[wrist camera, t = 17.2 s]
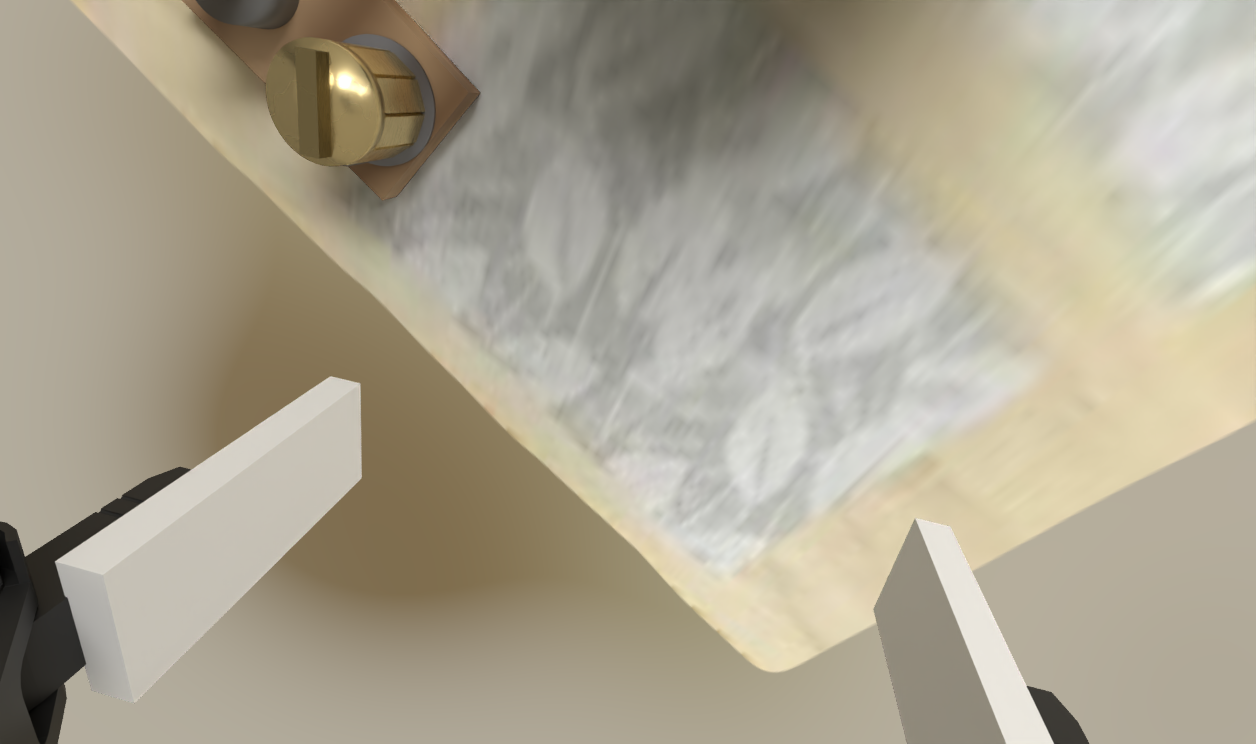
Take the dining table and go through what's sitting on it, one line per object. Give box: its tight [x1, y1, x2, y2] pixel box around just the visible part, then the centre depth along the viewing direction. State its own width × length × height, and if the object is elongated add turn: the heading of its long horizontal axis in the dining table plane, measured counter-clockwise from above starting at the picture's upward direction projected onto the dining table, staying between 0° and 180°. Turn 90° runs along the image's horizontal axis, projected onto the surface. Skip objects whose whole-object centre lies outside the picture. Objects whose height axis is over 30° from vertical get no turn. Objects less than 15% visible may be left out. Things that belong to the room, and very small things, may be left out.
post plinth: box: [182, 0, 480, 201], centre depth 38 cm, size 18×10×10 cm, turn 44°
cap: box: [266, 37, 425, 166], centre depth 38 cm, size 7×7×7 cm
